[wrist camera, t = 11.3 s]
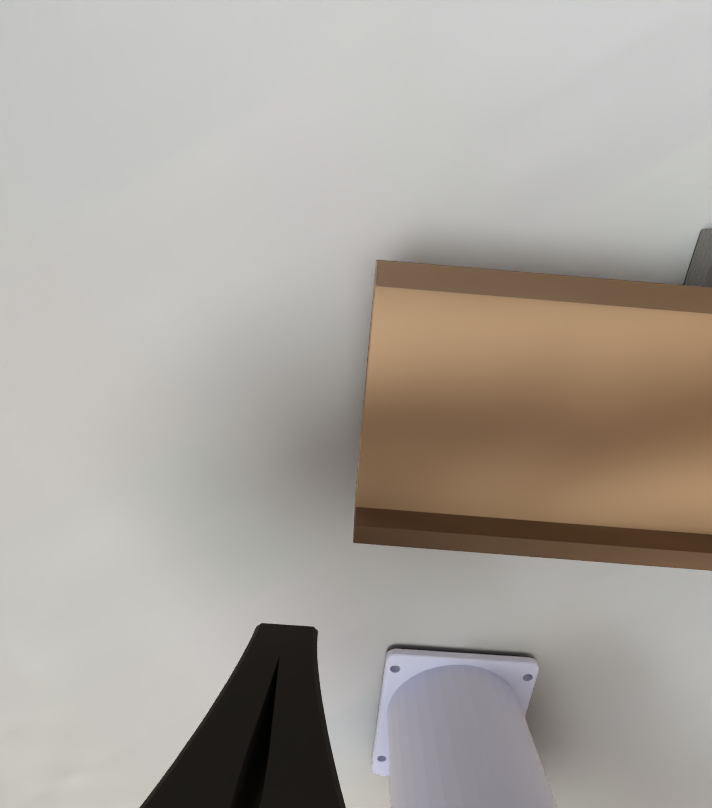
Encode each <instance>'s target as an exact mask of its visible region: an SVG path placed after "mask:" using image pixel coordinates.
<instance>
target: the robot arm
mask: <svg viewBox="0 0 712 808" xmlns="http://www.w3.org/2000/svg"><path fill="white" fill-rule="evenodd" d="M317 636H318V631H317V630H316V629H315V628H314V627H310V626H295V625H280V624H265V623H261V624H260V625H258V626H257V627H256V629H255V631H254V633H253V636H252V638H251V640H250V642H249V644H248V646H247V648H246V649H245V651H244V653H243V655H242V657H241V659H240V660H239V662H238V664H237V666H236V667H235V669H234V671H233V673H232V674H231V676H230V678H229V679H228V681H227V683H226V684H225V686H224V688H223V689H222V691H221V692H220V694H219V696H218V697H217V699H216V700H215V702H214V703H213V705H212V707H211V708H210V710H209V711H208V713H207V715H206V716H205V718H204V719H203V721H202V722H201V724H200V725H199V727H198V728H197V729H196V731H195V732H194V734H193V735H192V737H191V738H190V740H189V741H188V742H187V744H186V745H185V747H184V748H183V750H182V751H181V752H180V754H179V755H178V757H177V758H176V760H175V761H174V763H173V764H172V765H171V767H170V768H169V769H168V771H167V772H166V773H165V775H164V776H163V777H162V779H161V780H160V782H159V783H158V784H157V786H156V787H155V788H154V790H153V791H152V792H151V793H150V795H149V796H148V797H147V799H146V800H145V801H144V803H143V804H142V805H141V806H140V808H346V807H345V803H344V799H343V796H342V792H341V788H340V784H339V780H338V776H337V772H336V767H335V763H334V759H333V754H332V750H331V745H330V741H329V736H328V731H327V725H326V720H325V714H324V708H323V703H322V696H321V690H320V682H319V672H318V661H317ZM393 665H397V666H393ZM538 672H539V666H538V664H537V662H536V660H535V659H533V658H530V657H517V656H502V655H486V654H471V653H456V652H441V651H425V650H410V649H392V650H389V651H388V652H387V654H386V659H385V667H384V674H383V681H382V689H381V696H380V704H379V711H378V718H377V726H376V733H375V740H374V748H373V755H372V762H371V766H372V772H373V773H374V774H376V775H383V776H389V785H390V802H391V808H557V805H556V802H555V799H554V797H553V794H552V791H551V788H550V786H549V783H548V780H547V777H546V775H545V772H544V769H543V766H542V764H541V761H540V758H539V755H538V752H537V750H536V747H535V744H534V741H533V739H532V736H531V733H530V730H529V728H528V725H527V722H526V719H525V716H526V712H527V709H528V705H529V702H530V699H531V695H532V692H533V689H534V685H535V682H536V679H537V675H538Z"/></svg>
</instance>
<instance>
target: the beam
mask: <svg viewBox="0 0 712 808" xmlns="http://www.w3.org/2000/svg"><path fill="white" fill-rule="evenodd" d="M353 543H363V544H376V545H389V546H401V547H414V548H427V549H440V550H453V551H466V552H479V553H492V554H504V555H517V556H530V557H543V558H556V559H569V560H582V561H594V562H607V563H620V564H633V565H646V566H659V567H672V568H685V569H697V570H710V571H712V288H710V287H698V286H686V285H674V284H662V283H650V282H638V281H626V280H614V279H602V278H590V277H578V276H566V275H554V274H542V273H530V272H518V271H506V270H494V269H482V268H470V267H458V266H446V265H434V264H422V263H410V262H398V261H386V260H376V269H375V280H374V291H373V302H372V314H371V325H370V336H369V347H368V358H367V370H366V381H365V392H364V403H363V414H362V425H361V437H360V448H359V459H358V470H357V481H356V493H355V512H354V538H353Z"/></svg>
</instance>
